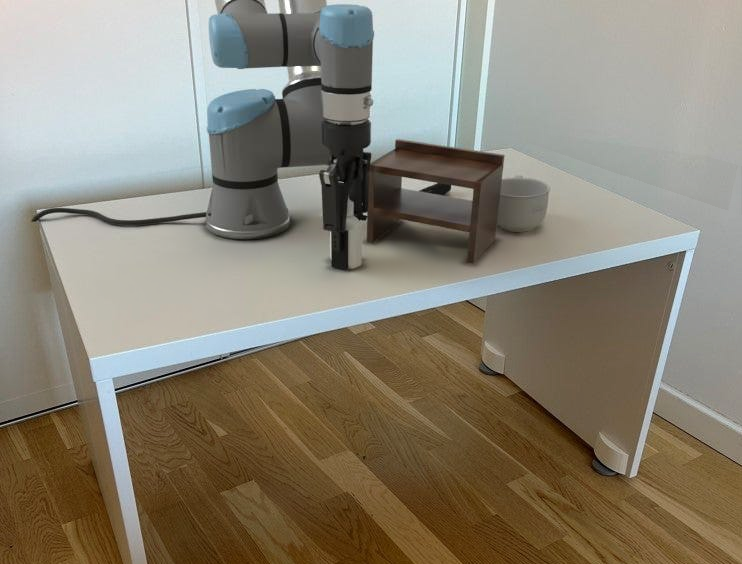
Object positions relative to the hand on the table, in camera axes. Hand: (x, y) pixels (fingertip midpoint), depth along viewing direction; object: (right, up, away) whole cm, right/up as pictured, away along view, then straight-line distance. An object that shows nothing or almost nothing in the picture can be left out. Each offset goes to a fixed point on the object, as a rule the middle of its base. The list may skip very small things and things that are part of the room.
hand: (346, 262), depth 126 cm
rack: (+15, +5, +9) cm, 18 cm away
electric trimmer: (+15, +16, +27) cm, 35 cm away
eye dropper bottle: (0, 0, 0) cm, 1 cm away
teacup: (+32, +10, +18) cm, 38 cm away
